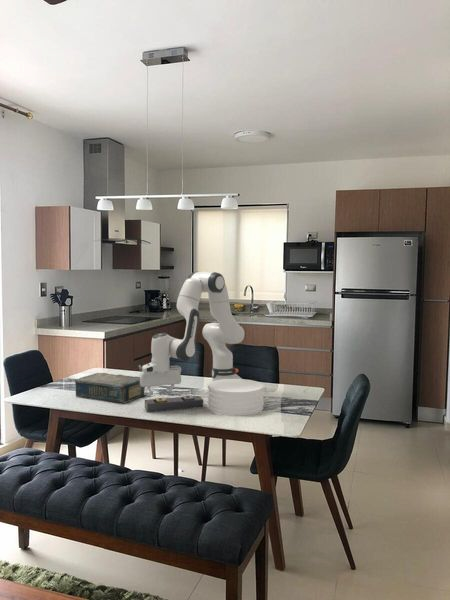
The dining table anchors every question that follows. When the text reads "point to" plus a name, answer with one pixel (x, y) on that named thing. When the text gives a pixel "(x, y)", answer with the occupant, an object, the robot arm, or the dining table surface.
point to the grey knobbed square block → (187, 398)
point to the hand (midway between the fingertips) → (160, 393)
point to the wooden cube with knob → (160, 400)
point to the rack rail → (173, 404)
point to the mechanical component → (140, 367)
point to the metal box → (109, 387)
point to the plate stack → (235, 396)
